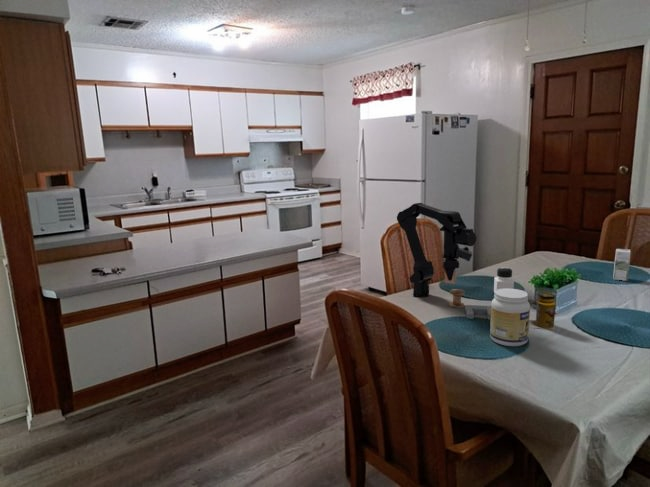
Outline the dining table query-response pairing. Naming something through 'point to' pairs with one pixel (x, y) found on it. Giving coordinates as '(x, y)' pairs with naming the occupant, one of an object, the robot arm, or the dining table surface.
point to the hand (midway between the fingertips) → (449, 278)
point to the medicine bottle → (503, 279)
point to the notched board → (477, 310)
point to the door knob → (457, 298)
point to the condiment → (544, 312)
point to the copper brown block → (452, 278)
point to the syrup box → (621, 264)
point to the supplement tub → (510, 317)
